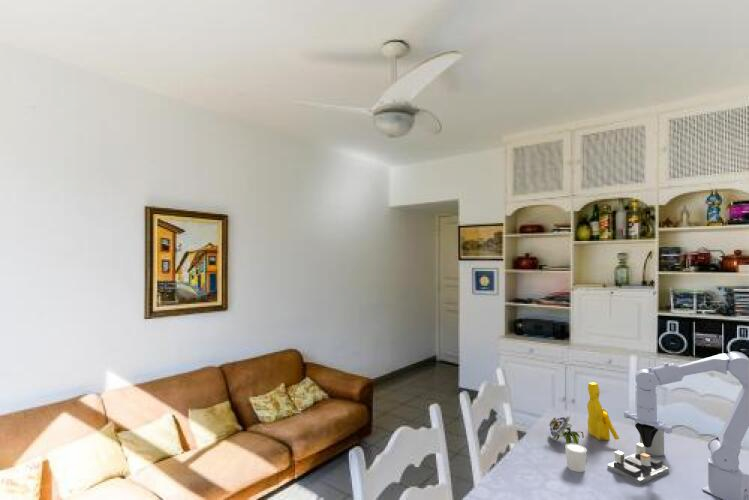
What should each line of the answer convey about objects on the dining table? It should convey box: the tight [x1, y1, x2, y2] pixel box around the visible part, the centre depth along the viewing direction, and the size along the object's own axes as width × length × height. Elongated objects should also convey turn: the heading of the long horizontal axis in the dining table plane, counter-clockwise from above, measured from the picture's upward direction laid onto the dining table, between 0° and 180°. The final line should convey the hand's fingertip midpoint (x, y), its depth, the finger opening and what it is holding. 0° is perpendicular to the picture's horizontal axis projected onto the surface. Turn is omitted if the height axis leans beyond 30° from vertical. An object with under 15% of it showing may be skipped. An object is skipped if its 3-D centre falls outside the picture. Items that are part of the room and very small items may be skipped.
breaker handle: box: [640, 453, 651, 466], centre depth 137 cm, size 2×2×3 cm
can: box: [639, 430, 665, 457], centre depth 151 cm, size 8×8×12 cm
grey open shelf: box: [607, 442, 670, 486], centre depth 139 cm, size 11×16×6 cm
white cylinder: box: [564, 442, 588, 473], centre depth 141 cm, size 7×7×7 cm
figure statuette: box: [586, 382, 620, 441], centre depth 163 cm, size 18×8×22 cm, turn 6°
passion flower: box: [549, 416, 585, 444], centre depth 160 cm, size 11×11×12 cm
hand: (647, 446), depth 136 cm, fingers closed
